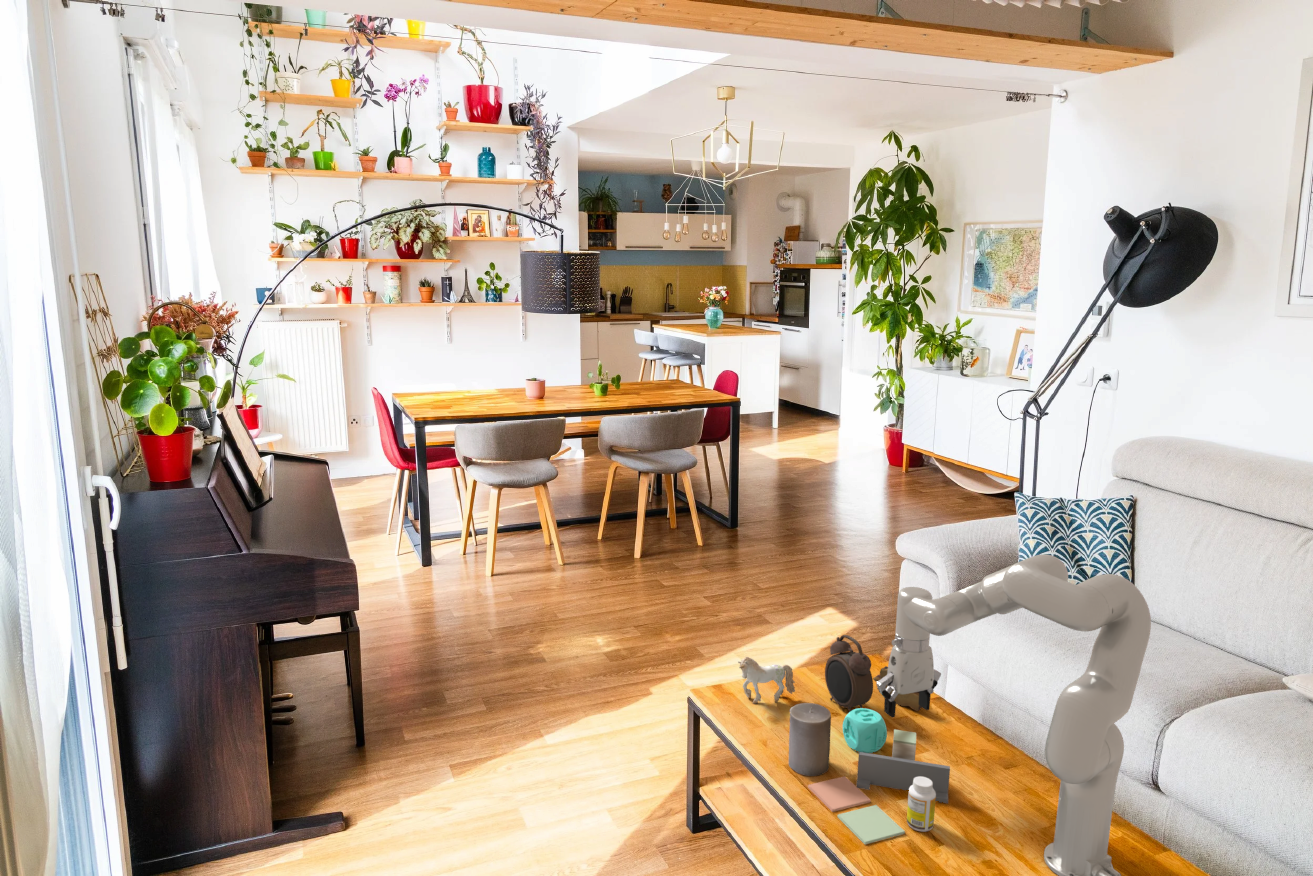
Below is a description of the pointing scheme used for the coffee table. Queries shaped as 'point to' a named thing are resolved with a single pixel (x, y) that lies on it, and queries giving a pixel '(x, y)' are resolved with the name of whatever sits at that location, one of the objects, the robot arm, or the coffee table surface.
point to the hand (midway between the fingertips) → (906, 711)
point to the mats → (862, 822)
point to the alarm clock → (848, 674)
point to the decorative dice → (864, 730)
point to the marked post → (904, 745)
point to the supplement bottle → (921, 804)
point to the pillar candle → (809, 739)
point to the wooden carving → (901, 699)
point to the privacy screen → (900, 773)
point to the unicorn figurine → (765, 677)
